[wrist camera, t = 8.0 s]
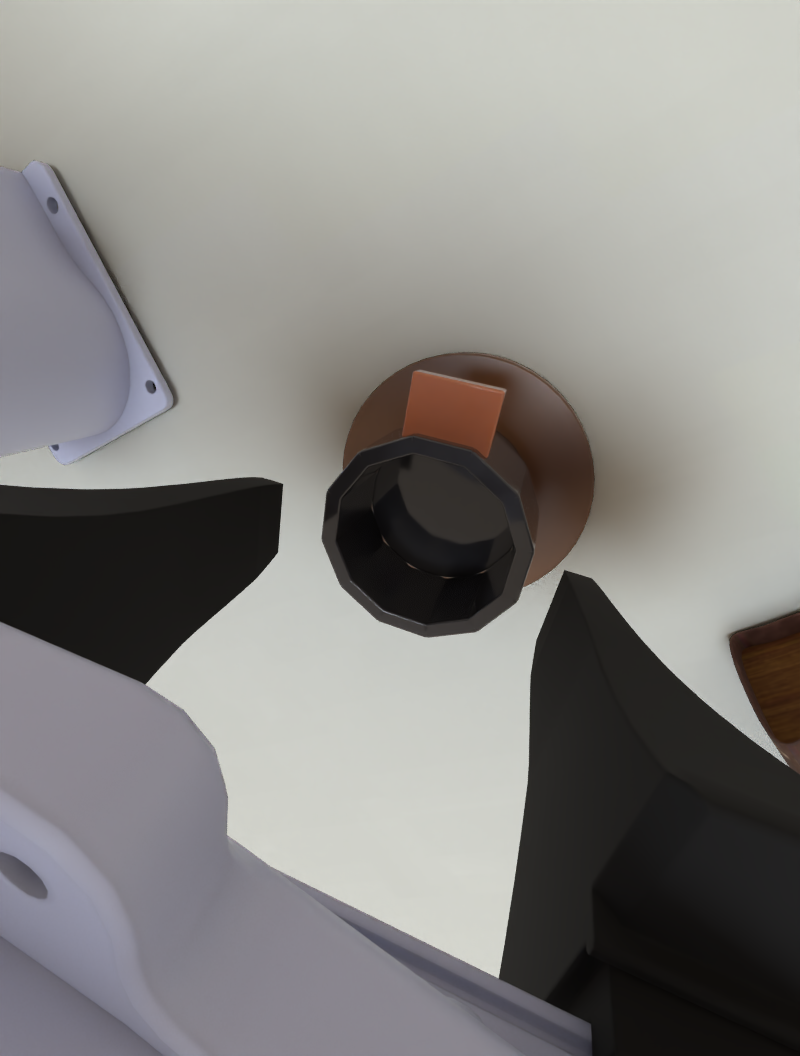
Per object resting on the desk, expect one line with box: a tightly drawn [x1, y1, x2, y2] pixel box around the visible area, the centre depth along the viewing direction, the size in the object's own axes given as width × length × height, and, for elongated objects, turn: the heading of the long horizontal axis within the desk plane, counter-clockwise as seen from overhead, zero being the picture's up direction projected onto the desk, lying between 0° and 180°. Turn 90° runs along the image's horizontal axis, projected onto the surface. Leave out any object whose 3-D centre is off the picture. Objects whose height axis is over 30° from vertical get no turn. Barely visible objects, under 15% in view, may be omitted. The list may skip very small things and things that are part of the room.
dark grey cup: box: [322, 370, 540, 637], centre depth 14 cm, size 6×7×5 cm
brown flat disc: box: [343, 352, 595, 587], centre depth 17 cm, size 9×9×1 cm
